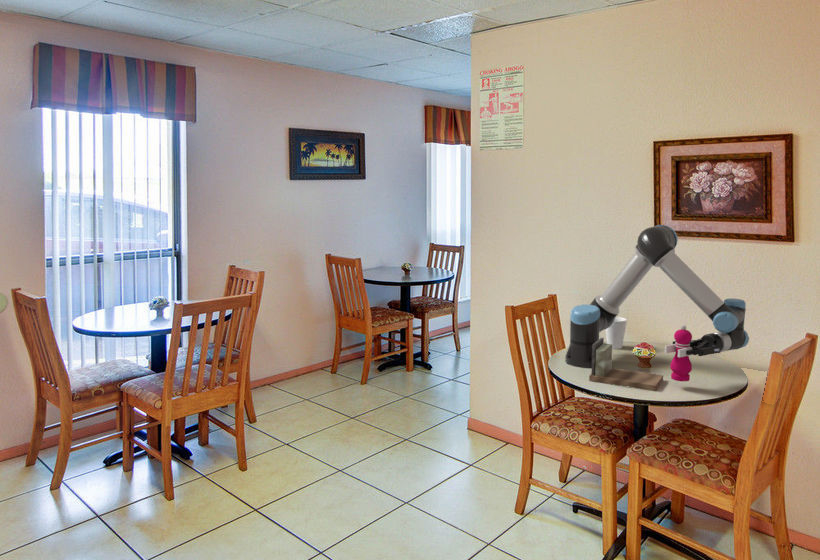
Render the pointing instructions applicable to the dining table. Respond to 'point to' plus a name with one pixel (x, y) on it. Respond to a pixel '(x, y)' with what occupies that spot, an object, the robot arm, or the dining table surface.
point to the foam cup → (616, 333)
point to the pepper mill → (681, 364)
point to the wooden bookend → (618, 370)
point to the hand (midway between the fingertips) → (672, 351)
